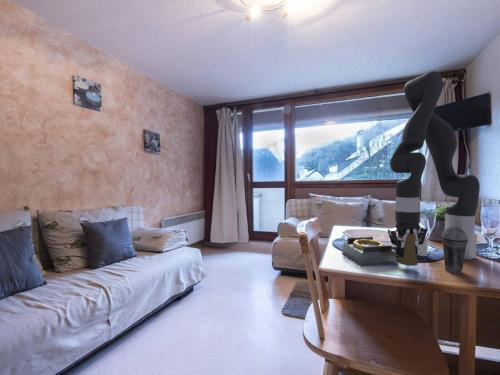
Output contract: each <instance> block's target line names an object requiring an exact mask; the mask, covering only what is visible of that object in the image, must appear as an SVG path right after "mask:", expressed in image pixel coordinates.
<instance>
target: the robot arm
mask: <svg viewBox="0 0 500 375" xmlns="http://www.w3.org/2000/svg"><path fill="white" fill-rule="evenodd" d="M443 89H444V80H443V78H442V75H441V74H440V73H439V72H438V71H436V70H435V71H434V70H433V71H430V72H429V71H428V72H426V73H425V74H423V75H420V76H418V77H415V78H413V79H411V80H409V81H407V82H406V83H405V84H404V87H403V93H404V96H405V99H406V101H407V104H408V105H409V107H410V109H411V111H412V115H411V116H410V117H409V119H408V121H407V122H406V123H405V124H404V128H403V131H402V135H401V140H400V142H399V144H398V145H397V148H396V149H395V151H394V152H393V154H392V156H391V158H390V160H389V161H390V162H389V168H390V170H391V171H392V172H394V173H395V174H410V175H409V177H408V178H405V179H400V180H397V182H396V184H395V203H394V206H395V208H394V218H395V219H394V222H395V227H394V228H392V229H390V228H389V229H387V233H388V236H389V239H390V242H391V244H392V245H394V246H395V247H396V249H397V250H396V255H398V256H399V257H400V256H401V258H403V256H404V248H403V247H404V245H405V242H406V239H405V238H406V237H407V235H408V234H414V235H415V236H416V241H415V242H414V244H415V251H416V257H418V255H417V254H418V246H419V245H420V244H421V245H422V244H423V243H424V240H425V237H427V233H428V228H425V227H422V226H420V225H419V224H420V223H421V199H420V186H421V181H422V177H423V174H424V171H425V168H426V165H427V159H426V156H425V155H424V154H423V153H422V152H416V151H418V150H421V149H422V148H423V147H424V144H426V147H427V148H428V151H429V153H430V156H431V159H432V162H433V165H434V168H435V170H436V175H437V178H438V183H439V186H440V189H441V192H442V193H443V194H444V195H445V196H447V197H451V198H457V201H456V203H455V204H452V205H448V206H446V207H445V215H444V222H445V223H444V230H446V229H447V228H449V227H452V215H454V227H458V228H460V229H462V230H463V231H464V232H465V233H466V234H467V237H468V242H467V246H466V250H465V256H464V261H465V260H467V261H469V260H471V261H472V260H474V259H476V258H477V243H478V242H477V238H478V235H477V233H475V231H476V211H477V209H478V207H479V197H480V186H481V185H480V182H479V181H480V180H479V179H478V178H477V176H475V175H471V174H457V173H456V171H455V168H454V165H453V159H454V157H455V156H454V155H455V154H456V150H457V147H458V141H457V137H456V134H455V132H454V130H453V129H454V128H453V127H452V125H450V123H448V122H447V121H446V120H444V119H443V118H441V117H440V116H438V115H437V114H435V113H434V111H435V109H436V107H437V104H438V102H439V100H440V97H441V95H442V92H443ZM417 232H418V233H417ZM399 235H400V236H402V237H403V238H399ZM420 237H421V239H420ZM400 240H401V241H400ZM400 243H401V244H400Z"/></svg>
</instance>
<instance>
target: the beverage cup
mask: <svg viewBox="0 0 500 375" xmlns="http://www.w3.org/2000/svg"><path fill="white" fill-rule="evenodd" d="M440 237H441V242H442V248H443V249H442V250H443V262H444V270H445V271H446V272H448V273H451V274H458V275H459V274H462V273H463V269H464V264H465V263H464V261H465V260H464V256H465V250H466V246H467V242H468V237H467V234H466V233H465V232H464V231H463V230H462V229H460V228H458V227H454V215H452V227H449V228H447V229H446V230H445V229H444V230H443V232H442V234H441V236H440Z"/></svg>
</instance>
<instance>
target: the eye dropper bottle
mask: <svg viewBox="0 0 500 375" xmlns="http://www.w3.org/2000/svg"><path fill="white" fill-rule="evenodd" d="M417 233H418V232H417ZM420 239H421V237H420ZM428 243H429V242H428V237H427V236H425V240H424V243H423V244H422V245H421V244H420V245H419V246H418V254H417V256H418V255H419V257H424V256H425V257H427V256H428V248H429V247H428V245H429V244H428Z"/></svg>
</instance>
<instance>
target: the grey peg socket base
mask: <svg viewBox="0 0 500 375" xmlns="http://www.w3.org/2000/svg"><path fill="white" fill-rule="evenodd" d="M346 239H347V240H346V241H344V242H343V251H341V254H342V255H344V256H345V257H346V258H348V259H350V261H353V263H355V265H358V266H359V267H372V266H373V267H374V266H390V265H398V264H399V263H398V260H397V250H395V249H393V246H392V245H391V244H385V245H384V243H383V242H381V241H379V240H376V239H375V240H374V237H373V236H360V237H359V236H357V237H347V238H346Z"/></svg>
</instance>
